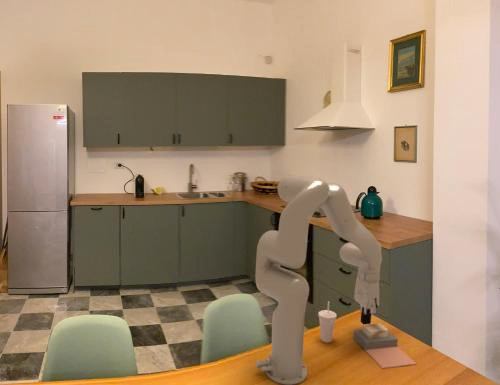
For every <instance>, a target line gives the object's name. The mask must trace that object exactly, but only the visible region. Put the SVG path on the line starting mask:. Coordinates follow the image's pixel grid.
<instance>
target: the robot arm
mask: <svg viewBox="0 0 500 385" xmlns="http://www.w3.org/2000/svg"><path fill="white" fill-rule="evenodd" d="M277 194H278V196H279V198H280V199H281V200H283V201H284V202H286V203H288V204H287V205H286V206H285V207H284V209H283V210H282V212H281V214H280V217H279V223H278V230H276V229H275V230H268V231H266V232H264V233H263V234H262V235H261V237H260V238H259V240H258V243H257V247H256V257H255V258H256V259H255V261H256V262H255V278H254V279H255V285H256V288H257V290H258V291H259V292H260V293H261V294H263V295H265V296H267V297H270V298H272V299H273V300H275V301H276V302H277V307H276V308H275V309H274V311H273V313H272V319H271V354H269V355H268V358H265V360H256V361H255V368H256V369H260V368H261V372H265V374H266V375H267V377H268V378H269V379H270V380H271V381H273V382H275V383H278V384H281V385H296V384H300V383H302V382H304V381H305V380H306V379H307V377H308V368H307V366H306V365H305V364H304V363H303V360H304V359H303V358H304V339H305V338H304V337H305V336H304V335H305V314H306V306H307V303H308V299H309V295H310V294H309V293H310V286H309V283H308V281H307V279H306V278H305V277H304V276H302V275H301V274H300V273H297V272H294V271H292V269H293V270H298V269H300V268H302V267H303V266H304V264H305V262H306V259H307V250H308V235H309V227H310V221H311V220H312V217H313V215H314V214H315V213H316V212H317V210H318V209H322V211H323V212H324V214H325V216H326V219H327V220H328V224H329V225H330V228H331V230H332V231H333V233H335V235H338V236H339V237H341V238H342V239H343V240H345V241H348V242H347V243H345V244H343V245H342V246H341V247H340V249H339V254H338V255H339V258H340V259H341V260H342V261H343V262H344V263H346V264H349V265H352V266H354V267H358V268H357V276H356V281H355V285H354V286H355V288H354V295H353V296H354V298H353V299H354V301H355V302H356V303H357V304H359V307H360V323H361V324H362V325H370V324H371V323H372V314H376V312H377V309H379V306H380V275H381V265H382V263H383V262H382V261H383V256H382V244H381V243H380V242H379V241H378V240H377V238H376V237H375V236H374V234H373V233H372V232H371V231H370V230H369V229H367V227H365V226H364V224H362V223H361V221H359V220H358V219H357V218H356V214H355V213H354V210H353V207H352V205H351V203H350V200H349V198H348V196H347V193H346V190H345V189H344V188H343V186H341V185H339V184H337V183H331V182H326V181H325V180H324V179H321V178H316V177H309V176H300V175H293V174H292V175H290V174H289V175H286V176H284V177H282V178H281V179H280V181H279V182H278V184H277ZM281 266H282V267H281ZM283 267H284V268H283ZM286 268H287V269H286ZM289 269H291V270H289Z"/></svg>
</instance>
